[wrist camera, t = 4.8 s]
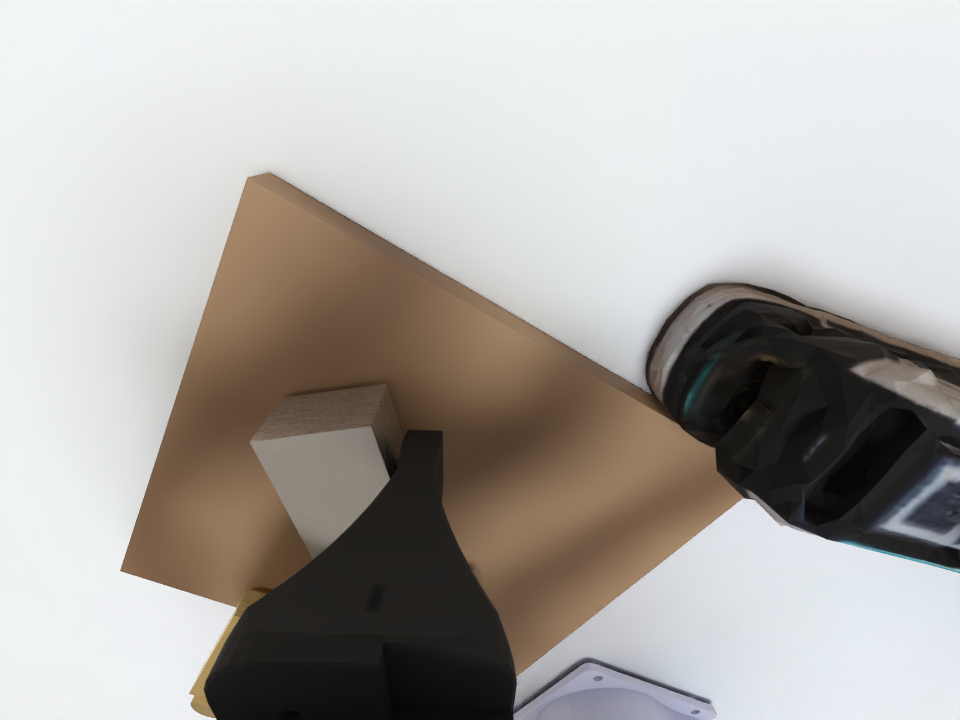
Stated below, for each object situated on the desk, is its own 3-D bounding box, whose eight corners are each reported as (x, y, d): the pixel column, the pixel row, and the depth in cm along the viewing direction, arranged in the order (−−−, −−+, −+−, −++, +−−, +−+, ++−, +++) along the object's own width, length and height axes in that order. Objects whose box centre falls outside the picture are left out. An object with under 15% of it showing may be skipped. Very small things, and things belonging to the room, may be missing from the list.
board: (750, 453, 16) (770, 477, 15) (498, 663, 23) (499, 689, 22) (269, 172, 11) (247, 177, 10) (140, 544, 18) (120, 570, 17)
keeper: (359, 536, 16) (328, 644, 13) (299, 621, 19) (259, 729, 15) (287, 508, 15) (233, 615, 12) (235, 601, 18) (179, 709, 15)
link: (494, 645, 19) (495, 699, 17) (377, 656, 19) (367, 709, 18) (423, 378, 12) (414, 420, 11) (246, 402, 13) (209, 447, 11)
